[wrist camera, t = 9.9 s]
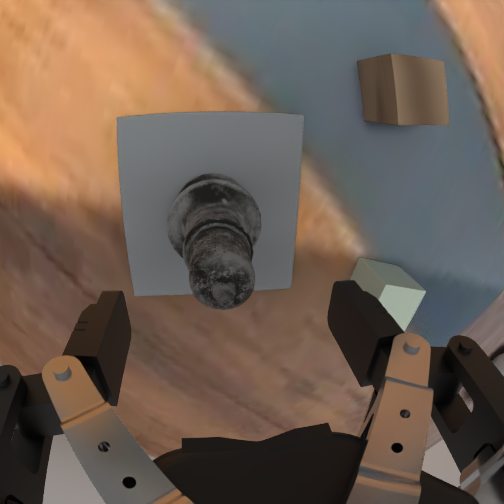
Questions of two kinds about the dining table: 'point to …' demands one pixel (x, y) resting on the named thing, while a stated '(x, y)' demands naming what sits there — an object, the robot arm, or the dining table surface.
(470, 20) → the dining table surface
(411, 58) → the walnut block
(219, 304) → the salt shaker
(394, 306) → the sage block
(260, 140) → the serving board
